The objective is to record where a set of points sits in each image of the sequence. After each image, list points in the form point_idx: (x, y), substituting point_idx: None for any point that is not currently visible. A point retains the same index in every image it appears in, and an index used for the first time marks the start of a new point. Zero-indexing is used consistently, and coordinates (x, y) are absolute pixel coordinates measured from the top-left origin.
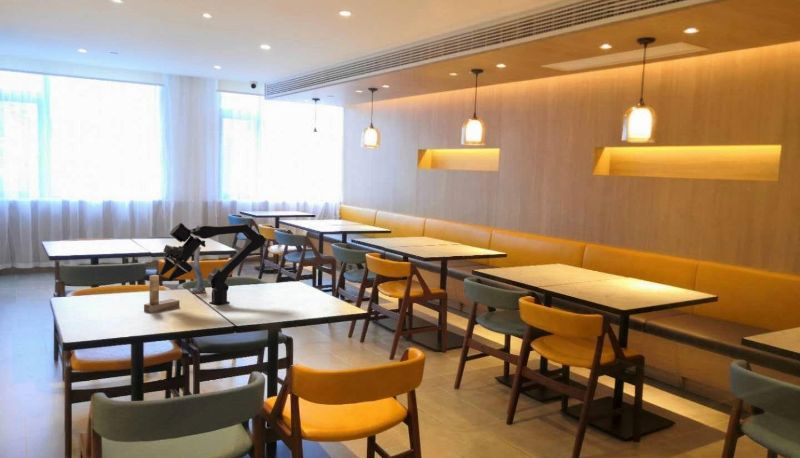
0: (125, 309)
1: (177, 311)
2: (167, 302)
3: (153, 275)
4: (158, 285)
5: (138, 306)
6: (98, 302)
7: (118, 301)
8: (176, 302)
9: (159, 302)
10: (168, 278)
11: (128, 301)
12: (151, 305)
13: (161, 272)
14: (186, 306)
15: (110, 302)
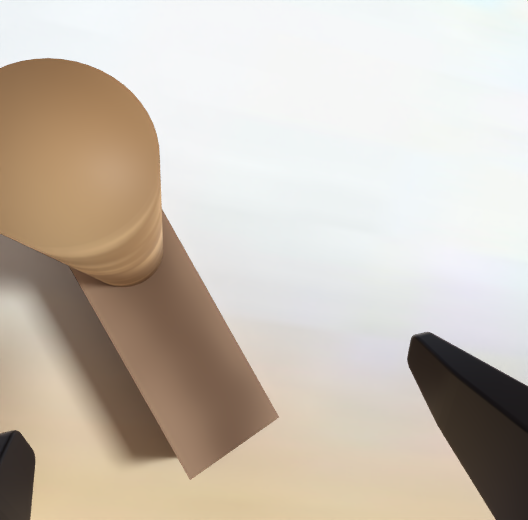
0: (252, 98)
1: (26, 425)
2: (135, 364)
3: (113, 146)
4: (55, 259)
5: (313, 187)
6: (483, 18)
7: (482, 113)
8: (172, 445)
9: (164, 299)
10: (3, 446)
11: (469, 162)
12: None
13: (433, 358)
14: (192, 515)
15: (468, 70)
